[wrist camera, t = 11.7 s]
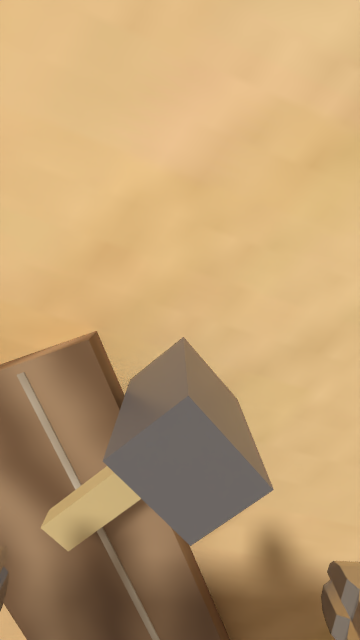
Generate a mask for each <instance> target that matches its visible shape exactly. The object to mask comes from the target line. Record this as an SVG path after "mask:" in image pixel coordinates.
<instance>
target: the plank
mask: <svg viewBox="0 0 360 640" xmlns="http://www.w3.org/2000/svg"><path fill="white" fill-rule="evenodd" d="M124 397H125V396H124V394H123V391H122V389H121V387H120V384H119V382H118V380H117V377H116V375H115V373H114V370H113V368H112V366H111V364H110V361H109V359H108V357H107V354H106V352H105V350H104V347H103V345H102V343H101V340H100V338H99V336H98V333H97V331H95V332H93V333H90V334H87V335H84V336H81V337H78V338H75V339H73V340H70V341H67V342H64V343H61V344H58V345H55V346H52V347H50V348H47V349H44V350H41V351H38V352H35V353H32V354H30V355H27V356H24V357H21V358H18V359H15V360H12V361H9V362H7V363H4V364H1V365H0V546H7V549H8V559H7V561H6V563H5V565H4V567H5V568H6V570H7V571H8V572H9V581H8V588H7V593H6V596H5V599H4V602H3V603H4V605H5V606H6V608H7V609H8V611H9V612H10V614H11V616H12V617H13V619H14V620H15V622H16V623H17V625H18V626H19V628H20V629H21V631H22V633H23V634H24V636H25V637H26V639H27V640H230V639H229V637H228V634H227V632H226V630H225V627H224V625H223V623H222V620H221V618H220V616H219V614H218V611H217V609H216V607H215V604H214V602H213V600H212V597H211V595H210V593H209V590H208V588H207V586H206V583H205V581H204V579H203V576H202V574H201V572H200V570H199V567H198V565H197V563H196V560H195V558H194V556H193V553H192V551H191V549H190V546H189V544H188V543H187V542H186V541H185V540H184V539H183V538H182V537H181V536H180V535H179V534H177V533H176V532H175V531H174V530H173V529H172V528H171V527H170V526H169V525H168V524H167V523H166V522H165V521H164V520H163V519H162V518H161V517H160V516H159V515H158V514H157V513H156V512H155V511H154V510H153V509H151V508H150V507H149V506H148V505H147V504H146V503H145V502H144V501H143V500H142V499H140V500H139V501H138V502H136V503H135V504H133V505H132V506H131V507H129V508H128V509H127V510H125V511H124V512H122V513H121V514H120V515H118V516H117V517H115V518H114V519H113V520H111V521H110V522H109V523H107V524H106V525H104V526H103V527H102V528H100V529H99V530H97V531H96V532H95V533H93V534H92V535H91V536H89V537H88V538H86V539H85V540H84V541H82V542H81V543H80V544H78V545H77V546H75V547H74V548H73V549H71V550H70V551H67V550H66V549H65V548H63V547H62V546H61V545H60V544H59V543H58V542H56V541H55V540H54V539H53V538H52V537H51V536H49V535H48V534H47V533H46V532H45V531H44V530H42V529H41V526H42V524H43V522H44V520H45V518H46V515H47V513H48V511H49V510H50V509H51V508H52V507H54V506H55V505H56V504H58V503H59V502H60V501H62V500H63V499H64V498H65V497H67V496H68V495H69V494H71V493H72V492H73V491H75V490H76V489H77V488H79V487H80V486H81V485H83V484H84V483H85V482H87V481H88V480H89V479H91V478H92V477H93V476H94V475H96V474H97V473H98V472H100V471H101V470H102V469H104V468H105V467H106V466H107V465H106V464H105V463H104V462H103V458H104V455H105V452H106V449H107V446H108V443H109V441H110V438H111V435H112V432H113V429H114V426H115V423H116V420H117V417H118V414H119V411H120V408H121V405H122V402H123V400H124Z"/></svg>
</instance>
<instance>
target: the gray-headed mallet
mask: <svg viewBox="0 0 360 640" xmlns="http://www.w3.org/2000/svg"><path fill="white" fill-rule="evenodd" d="M103 462H104V463H105V464H106V465H107V466H106V467H105V468H104V469H102V470H101V471H100V472H98V473H97V474H96V475H94V476H93V477H92V478H91V479H89V480H88V481H87V482H85V483H84V484H83V485H81V486H80V487H79V488H77V489H76V490H75V491H73V492H72V493H71V494H69V495H68V496H67V497H65V498H64V499H63V500H62V501H60V502H59V503H58V504H56V505H55V506H54V507H52V508H51V509H50V510H49V511H48V513H47V515H46V518H45V520H44V522H43V524H42V526H41V529H42V530H44V531H45V532H46V533H47V534H48V535H49V536H51V537H52V538H53V539H54V540H55V541H56V542H58V543H59V544H60V545H61V546H62V547H63V548H65V549H66V550H67V551H70V550H71V549H73V548H74V547H75V546H77V545H78V544H80V543H81V542H82V541H84V540H85V539H86V538H88V537H89V536H91V535H92V534H93V533H95V532H96V531H97V530H99V529H100V528H102V527H103V526H104V525H106V524H107V523H109V522H110V521H111V520H113V519H114V518H115V517H117V516H118V515H120V514H121V513H122V512H124V511H125V510H127V509H128V508H129V507H131V506H132V505H133V504H135V503H136V502H138V501H139V500H140V499H142V500H143V501H144V502H145V503H146V504H147V505H148V506H149V507H150V508H151V509H153V510H154V511H155V512H156V513H157V514H158V515H159V516H160V517H161V518H162V519H163V520H164V521H165V522H166V523H167V524H168V525H169V526H170V527H171V528H172V529H173V530H174V531H175V532H176V533H177V534H179V535H180V536H181V537H182V538H183V539H184V540H185V541H186V542H187V543H188V544H189V545H190V546H191V545H193V544H194V543H196V542H197V541H198V540H200V539H201V538H203V537H204V536H206V535H207V534H209V533H210V532H212V531H213V530H215V529H216V528H218V527H219V526H221V525H222V524H224V523H225V522H227V521H228V520H230V519H231V518H233V517H234V516H236V515H237V514H238V513H240V512H241V511H243V510H244V509H246V508H247V507H249V506H250V505H252V504H253V503H255V502H256V501H258V500H259V499H261V498H262V497H264V496H265V495H267V494H268V493H270V492H271V491H273V490H274V489H273V487H272V484H271V482H270V480H269V477H268V475H267V472H266V470H265V467H264V465H263V462H262V460H261V457H260V455H259V452H258V450H257V447H256V445H255V442H254V440H253V437H252V435H251V432H250V430H249V427H248V425H247V422H246V420H245V417H244V415H243V412H242V410H241V407H240V405H239V402H238V400H237V398H236V397H235V396H234V395H233V394H232V393H231V391H230V390H229V389H228V388H227V387H226V386H225V384H224V383H223V382H222V381H221V380H220V379H219V378H218V376H217V375H216V374H215V373H214V372H213V371H212V369H211V368H210V367H209V366H208V365H207V364H206V362H205V361H204V360H203V359H202V358H201V357H200V356H199V354H198V353H197V352H196V351H195V350H194V349H193V347H192V346H191V345H190V344H189V343H188V342H187V341H186V339H185V338H184V337H183V338H182V339H180V340H179V341H178V342H177V343H175V344H174V345H173V346H172V347H170V348H169V349H168V350H167V351H165V352H164V353H163V354H162V355H160V356H159V357H158V358H157V359H155V360H154V361H153V362H152V363H150V364H149V365H148V366H147V367H145V368H144V369H143V370H142V371H140V372H139V373H138V374H137V375H135V376H134V377H133V378H132V379H130V382H129V385H128V388H127V391H126V394H125V397H124V400H123V402H122V405H121V408H120V411H119V414H118V417H117V420H116V423H115V426H114V429H113V432H112V435H111V438H110V441H109V443H108V446H107V449H106V452H105V455H104V458H103Z"/></svg>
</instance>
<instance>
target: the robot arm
mask: <svg viewBox="0 0 360 640" xmlns="http://www.w3.org/2000/svg"><path fill="white" fill-rule="evenodd" d="M7 559H8V549H7V546H0V611H1V608H2V606H3V602H4V599H5V596H6V593H7V588H8V581H9V572H8V571H7V570H6V568H5V567H4V565H5V563H6V561H7ZM327 573H328V575H329V577H330V579H331V580H330V581H328V582H327V583H326V584H325V585H324V586H323V591H322V596H321V599H322V609H323V613H324V617H325V621H326V624H327V626H328V628H329V631H330V633H331V635H332V636H333V637H334V638H335V639H336V640H360V562H348V561H333V562H332V563H330V564H329V568H328V571H327Z"/></svg>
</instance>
